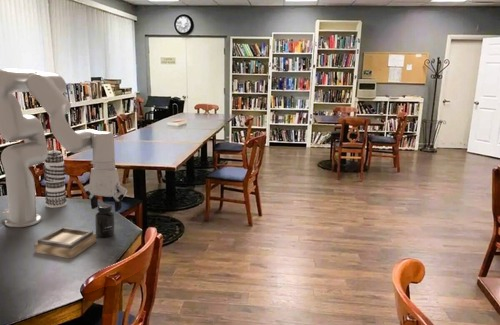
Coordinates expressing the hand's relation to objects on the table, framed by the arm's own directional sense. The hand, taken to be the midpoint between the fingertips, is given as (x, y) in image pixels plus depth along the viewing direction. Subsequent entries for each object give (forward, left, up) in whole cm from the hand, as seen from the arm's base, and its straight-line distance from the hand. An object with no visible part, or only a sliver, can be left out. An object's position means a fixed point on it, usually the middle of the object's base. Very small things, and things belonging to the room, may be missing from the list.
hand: (106, 209), depth 143 cm
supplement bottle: (-1, 0, -11) cm, 11 cm away
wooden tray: (-8, -13, -11) cm, 18 cm away
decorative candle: (-40, +23, -11) cm, 47 cm away
